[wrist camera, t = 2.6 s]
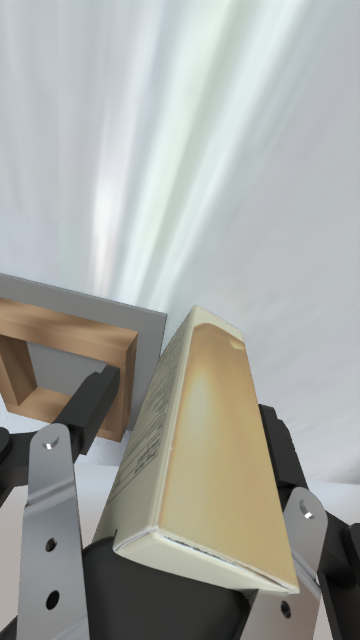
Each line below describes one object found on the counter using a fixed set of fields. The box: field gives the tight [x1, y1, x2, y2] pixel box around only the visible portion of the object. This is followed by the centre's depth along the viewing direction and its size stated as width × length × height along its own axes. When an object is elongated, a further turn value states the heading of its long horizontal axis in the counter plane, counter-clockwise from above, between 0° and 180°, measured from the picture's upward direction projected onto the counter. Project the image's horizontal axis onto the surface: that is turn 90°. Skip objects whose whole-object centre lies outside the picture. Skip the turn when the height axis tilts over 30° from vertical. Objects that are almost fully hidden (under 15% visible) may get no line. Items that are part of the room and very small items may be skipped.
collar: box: [0, 297, 138, 442], centre depth 19 cm, size 12×12×2 cm
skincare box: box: [92, 306, 300, 599], centre depth 11 cm, size 6×4×12 cm
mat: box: [0, 273, 167, 431], centre depth 20 cm, size 16×16×1 cm
